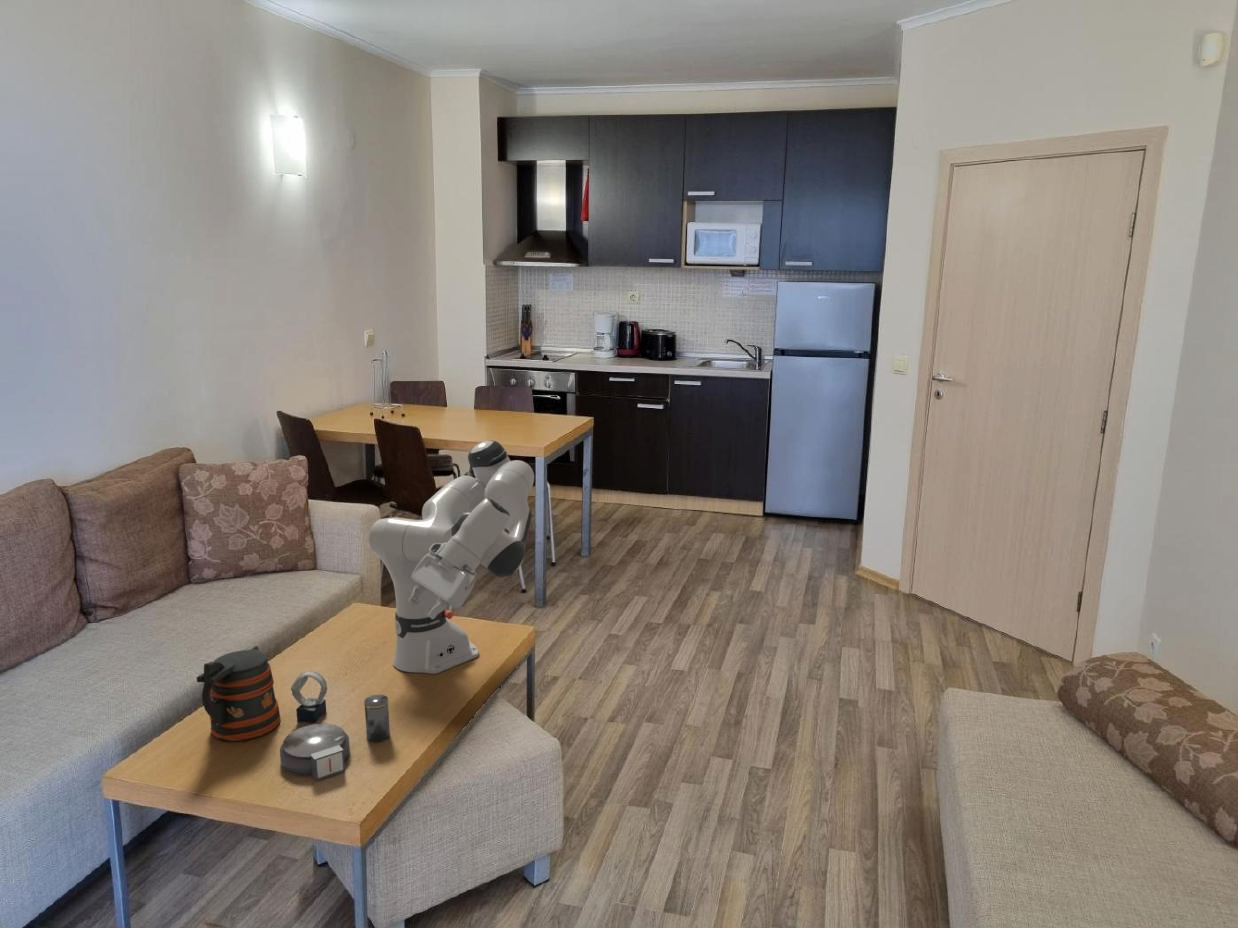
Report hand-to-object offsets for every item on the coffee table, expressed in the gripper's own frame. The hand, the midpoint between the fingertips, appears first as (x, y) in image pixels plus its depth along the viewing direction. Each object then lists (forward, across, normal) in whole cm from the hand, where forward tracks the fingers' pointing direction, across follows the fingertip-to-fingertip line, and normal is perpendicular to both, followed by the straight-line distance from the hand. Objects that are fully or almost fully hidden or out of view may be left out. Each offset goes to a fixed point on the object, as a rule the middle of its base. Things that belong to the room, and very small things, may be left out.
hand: (419, 610), depth 197 cm
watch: (+34, +18, -5) cm, 39 cm away
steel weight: (+27, 0, -11) cm, 30 cm away
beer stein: (+45, +21, +5) cm, 50 cm away
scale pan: (+35, 0, +1) cm, 35 cm away
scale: (+37, -1, -1) cm, 37 cm away
